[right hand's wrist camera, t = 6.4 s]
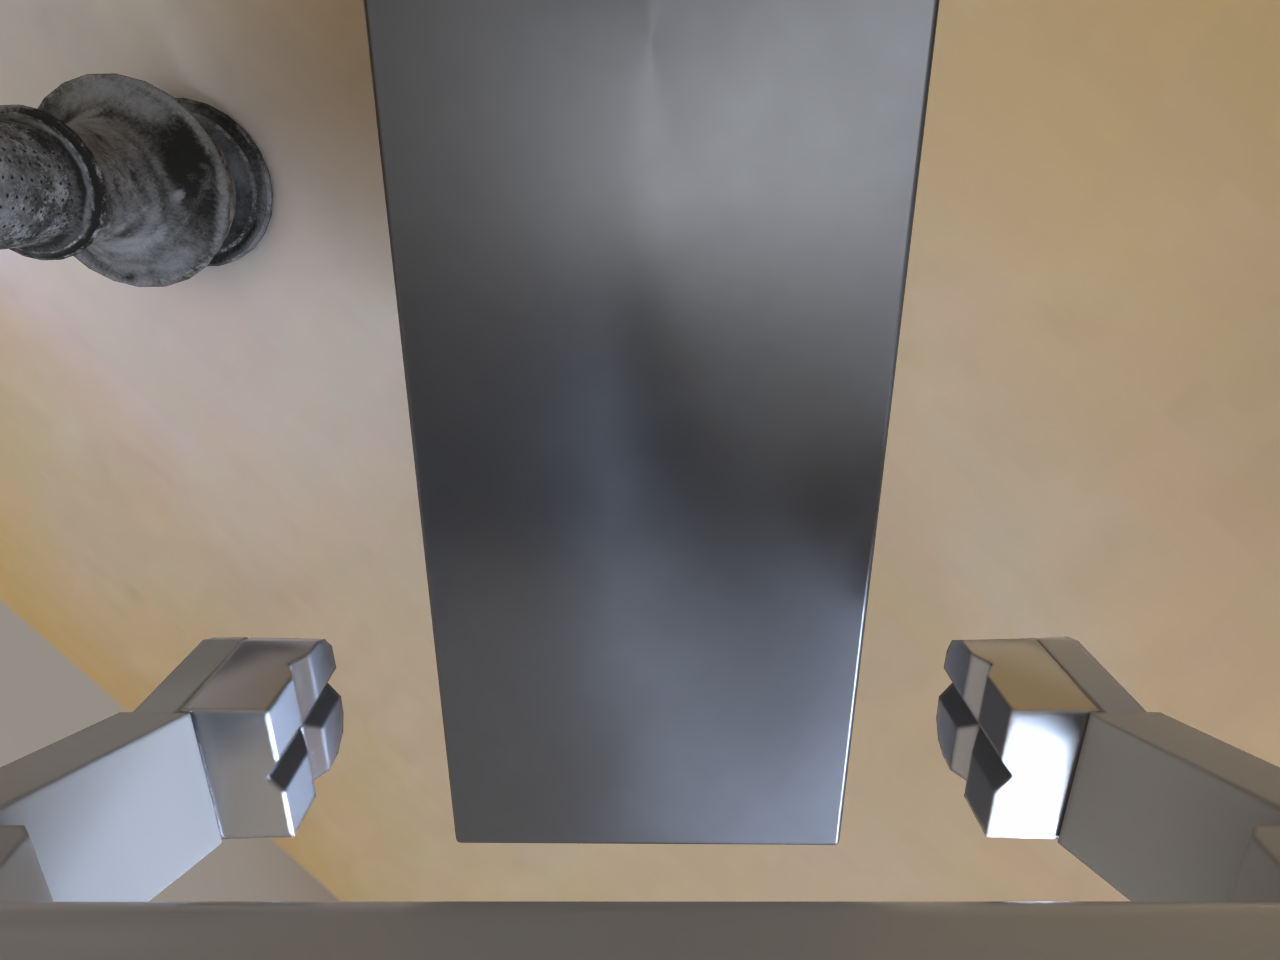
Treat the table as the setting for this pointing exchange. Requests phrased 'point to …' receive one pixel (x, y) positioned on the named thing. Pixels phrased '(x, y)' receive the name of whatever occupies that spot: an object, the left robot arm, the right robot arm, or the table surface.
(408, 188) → the box
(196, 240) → the dark grey chess piece
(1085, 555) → the table surface
